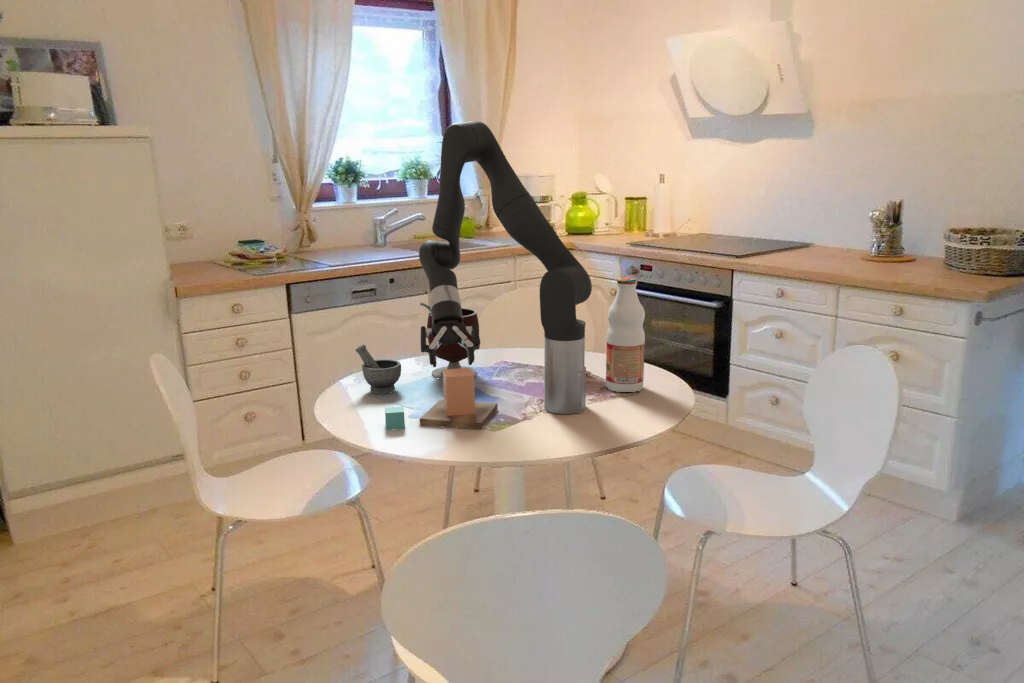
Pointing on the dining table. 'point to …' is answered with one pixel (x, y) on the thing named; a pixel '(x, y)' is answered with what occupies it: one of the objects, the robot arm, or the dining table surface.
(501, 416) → the dining table surface
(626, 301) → the fruit juice
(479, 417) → the walnut board
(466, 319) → the mate gourd
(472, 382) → the tall tan upright block
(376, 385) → the mortar and pestle
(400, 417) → the teal block
